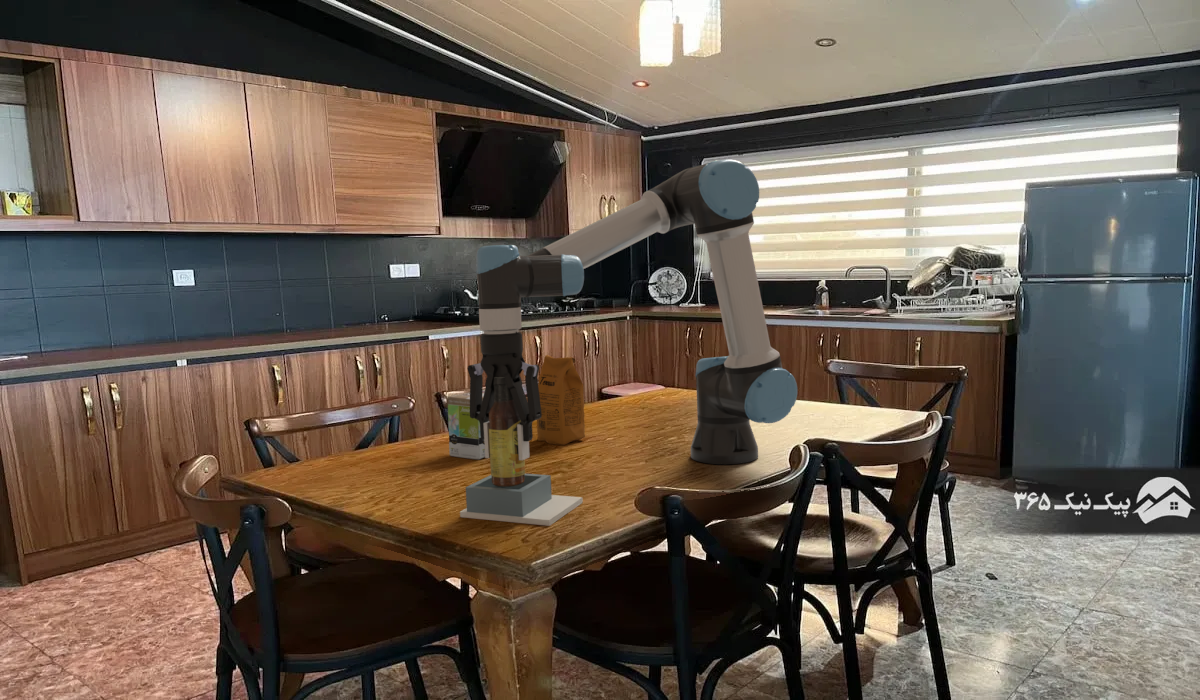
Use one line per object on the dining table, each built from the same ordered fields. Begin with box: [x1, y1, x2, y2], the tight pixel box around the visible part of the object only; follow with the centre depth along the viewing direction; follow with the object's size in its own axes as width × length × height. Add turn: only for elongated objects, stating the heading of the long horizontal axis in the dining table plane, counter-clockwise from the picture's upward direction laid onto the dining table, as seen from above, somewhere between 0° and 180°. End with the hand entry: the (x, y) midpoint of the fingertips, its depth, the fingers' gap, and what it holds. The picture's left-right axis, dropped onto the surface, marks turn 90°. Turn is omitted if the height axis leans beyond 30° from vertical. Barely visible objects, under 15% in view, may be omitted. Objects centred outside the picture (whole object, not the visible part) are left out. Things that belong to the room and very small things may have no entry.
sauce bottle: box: [489, 377, 526, 487], centre depth 145 cm, size 7×6×20 cm
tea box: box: [447, 389, 485, 460], centre depth 195 cm, size 15×10×15 cm, turn 148°
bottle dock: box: [459, 473, 584, 527], centre depth 146 cm, size 18×14×6 cm
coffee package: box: [536, 354, 586, 446], centre depth 204 cm, size 10×12×22 cm
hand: (507, 457), depth 145 cm, fingers closed on sauce bottle, 6 cm apart
